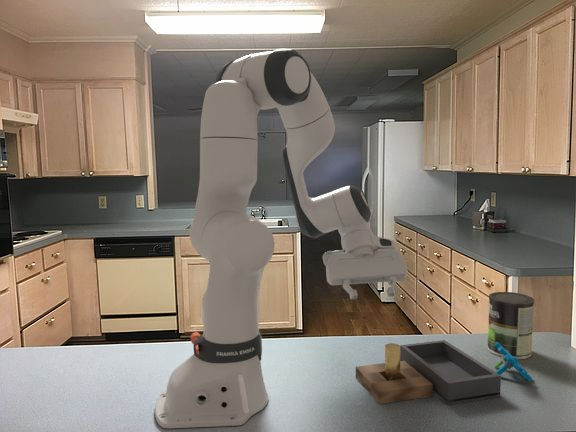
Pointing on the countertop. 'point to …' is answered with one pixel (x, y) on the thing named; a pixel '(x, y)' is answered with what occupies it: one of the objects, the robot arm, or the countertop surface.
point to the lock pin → (392, 362)
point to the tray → (452, 372)
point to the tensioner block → (393, 383)
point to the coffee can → (510, 323)
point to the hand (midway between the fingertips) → (373, 296)
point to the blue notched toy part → (510, 363)
